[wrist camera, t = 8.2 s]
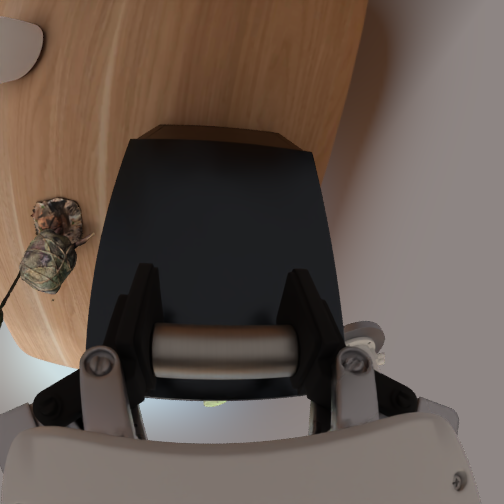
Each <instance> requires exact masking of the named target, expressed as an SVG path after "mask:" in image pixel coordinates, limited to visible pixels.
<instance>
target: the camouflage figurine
mask: <svg viewBox="0 0 504 504" xmlns="http://www.w3.org/2000/svg"><path fill="white" fill-rule="evenodd" d="M34 208H35V209H33V214H32V215H31V216H32V217H34V218H33V219H34V220H35V221H34V222H35V224H34V225H35V228H36V229H35V231H36V235H37V236H36V237H35V238H34V240H32V241H31V243H30V245H29V247H28V248H27V251H25V254H24V257H23V258H22V261H21V263H20V266H19V269H20V271H19V274H18V276H17V278H16V279H15V281H14V283H13V285H12V286H11V288H10V290H9V291H8V293H7V295H6V297H5V298H4V299H3V301H2V303H1V305H0V327H1V324H2V322H3V311H2V308H3V306H4V305H5V303H6V301H7V299H8V297H9V296H10V293H11V292H12V290H13V289H14V287H15V285H16V283H17V281H18V279H19V278H20V276H21V278H22V280H23V281H25V282H26V283H28V284H29V285H30V286H31V287H32V288H34V289H36V290H38V291H41V292H45V293H49V294H56V293H57V292H58V290H59V289H60V287H61V284H62V283H63V282H64V280H65V279H66V278H67V276H68V275H69V274H70V273H71V271H72V270H73V268H74V267H75V264H76V261H77V254H76V252H75V248H77V247H78V246H81V245H82V244H84V243H86V241H87V240H88V239H89V238H90V237H92V236H93V235H94V233H91V234H89V235H88V236H87V237H85V238H83V239H81V238H82V237H81V236H82V234H83V233H82V223H80V222H81V221H82V219H81V217H80V216H81V215H79V214H81V210H79V209H80V208H79V207H78V205H77V204H76V203H74V202H72V200H71V202H70V200H69V201H67V200H64V199H62V198H61V199H58V198H57V197H56V198H55V199H53V200H49V202H47V201H45V200H44V201H43V203H40V204H39V203H37V202H36V204H35V206H34ZM80 239H81V240H80ZM52 301H54V299H52Z"/></svg>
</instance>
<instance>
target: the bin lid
mask: <svg viewBox="0 0 504 504" xmlns="http://www.w3.org/2000/svg"><path fill="white" fill-rule="evenodd" d="M139 263H152V264H153V265H154V267H158V270H159V281H160V290H161V299H162V308H163V317H164V319H163V323H158V322H157V323H155V324H154V326H153V329H152V333H151V342H150V360H151V368H152V372H153V374H154V376H156V387H155V390H150V397H146V396H145V398H155V399H169V400H186V401H241V400H242V401H243V400H263V399H276V398H287V397H295V396H303V395H298V393H297V389H293V388H292V385H291V381H290V376H293V375H294V374H295V373H296V371H297V369H298V365H299V356H300V349H299V341H298V336H297V333H296V330H295V329H294V327H293V326H291V325H277V324H276V318H277V314H278V310H279V306H280V302H281V298H282V294H283V290H284V286H285V282H286V278H287V275H288V272H292V270H293V269H307V270H308V271H309V274H310V276H311V278H312V280H313V282H314V284H315V286H316V289H317V291H318V293H319V295H320V297H321V299H324V300H325V301H326V302H327V304H328V307H329V309H330V311H331V313H332V315H333V317H334V320H335V322H336V324H337V326H338V328H339V331H340V333H341V335H342V337H343V340H344V330H343V320H342V312H341V305H340V296H339V289H338V282H337V275H336V268H335V262H334V256H333V250H332V244H331V238H330V233H329V227H328V222H327V217H326V212H325V207H324V202H323V197H322V193H321V188H320V184H319V179H318V175H317V171H316V166H315V162H314V158H313V154H312V152H307V151H301V150H295V149H288V148H281V147H273V146H265V145H257V144H247V143H237V142H225V141H210V140H191V139H130V141H129V144H128V147H127V149H126V152H125V155H124V158H123V161H122V164H121V167H120V170H119V173H118V176H117V179H116V182H115V186H114V189H113V192H112V196H111V199H110V203H109V207H108V211H107V214H106V218H105V222H104V227H103V231H102V235H101V240H100V245H99V249H98V254H97V260H96V265H95V271H94V277H93V283H92V290H91V298H90V306H89V315H88V325H87V338H86V351H87V350H88V349H90V348H91V347H94V346H103V342H104V339H105V335H106V332H107V329H108V326H109V323H110V320H111V317H112V314H113V311H114V308H115V305H116V302H117V299H118V297H119V295H120V294H125V295H128V294H129V291H130V288H131V285H132V282H133V279H134V276H135V273H136V270H137V268H138V265H139ZM344 342H345V340H344Z"/></svg>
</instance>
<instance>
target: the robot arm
mask: <svg viewBox="0 0 504 504" xmlns="http://www.w3.org/2000/svg"><path fill="white" fill-rule="evenodd" d="M163 319H164V317H163V308H162V299H161V290H160V281H159V270H158V267H154V265H153V264H152V263H139V265H138V268H137V270H136V273H135V276H134V279H133V282H132V285H131V288H130V291H129V294H128V295H125V294H120V295H119V297H118V299H117V302H116V305H115V308H114V311H113V314H112V317H111V320H110V323H109V326H108V329H107V332H106V335H105V339H104V342H103V346H94V347H91V348H90V349H88V350H87V351H86V352H85V353H84V354H83V355H82V357H81V359H80V369H78V370H77V371H75V372H73V373H72V374H70V375H68V376H66V377H65V378H63V379H61V380H60V381H58V382H56V383H55V384H53V385H51V386H50V387H48V388H46V389H45V390H43V391H41V392H40V393H39V394H37V396H36V397H35V399H34V402H33V403H32V404H28V403H25V404H23V405H21V406H19V407H16V408H14V409H12V410H10V411H8V412H5V413H3V414H0V466H1V469H2V472H3V474H4V475H3V483H2V497H1V498H2V499H1V501H2V502H1V504H481V500H480V496H479V492H478V489H477V485H476V482H475V479H474V476H473V473H472V470H471V467H470V464H469V461H468V458H467V456H466V454H465V451H464V449H463V446H462V444H461V442H460V440H459V438H458V436H457V433H458V425H459V418H458V415H457V413H456V412H455V411H454V410H453V409H452V408H449V407H447V406H444V405H441V404H438V403H436V402H433V401H430V400H428V399H425V398H423V397H419V398H417V397H416V395H415V393H414V392H413V391H412V390H411V389H410V388H408V387H406V386H405V385H403V384H401V383H399V382H397V381H395V380H393V379H391V378H389V377H387V376H385V375H383V374H382V373H381V371H380V369H379V367H378V365H383V364H384V363H385V359H384V357H385V354H384V353H379V354H377V353H376V352H375V343H374V341H373V340H372V339H371V338H369V337H357V338H353V339H350V340H347V341H345V342H344V340H343V337H342V335H341V333H340V331H339V328H338V326H337V324H336V322H335V320H334V317H333V315H332V313H331V311H330V309H329V307H328V304H327V302H326V301H325V300H324V299H321V297H320V295H319V293H318V291H317V289H316V286H315V284H314V282H313V280H312V278H311V276H310V274H309V271H308V270H307V269H293V270H292V272H288V275H287V278H286V282H285V286H284V290H283V294H282V298H281V302H280V306H279V310H278V314H277V318H276V324H277V325H291V326H293V327H294V329H295V330H296V333H297V336H298V341H299V349H300V356H299V365H298V369H297V371H296V373H295V374H294V375H293V376H290V381H291V385H292V388H293V389H297V393H298V395H307V398H308V399H310V400H311V404H310V418H309V431H308V436H303V437H296V438H289V439H281V440H273V441H263V442H250V443H229V444H228V443H227V444H195V443H193V444H192V443H172V442H159V441H150V440H148V439H147V435H146V431H145V428H144V424H143V420H142V416H141V411H140V407H139V404H140V403H141V402H143V401H144V399H145V396H146V397H150V390H155V387H156V376H154V374H153V372H152V368H151V360H150V342H151V333H152V329H153V326H154V324H155V323H157V322H158V323H163Z"/></svg>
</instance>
